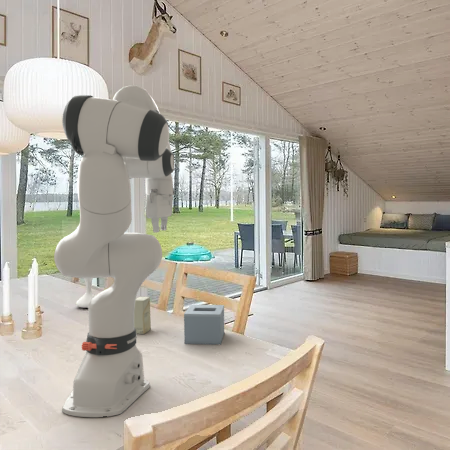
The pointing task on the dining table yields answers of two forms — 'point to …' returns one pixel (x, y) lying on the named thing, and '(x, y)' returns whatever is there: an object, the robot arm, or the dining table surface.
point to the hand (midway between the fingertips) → (160, 231)
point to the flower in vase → (86, 295)
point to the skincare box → (142, 315)
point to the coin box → (204, 324)
